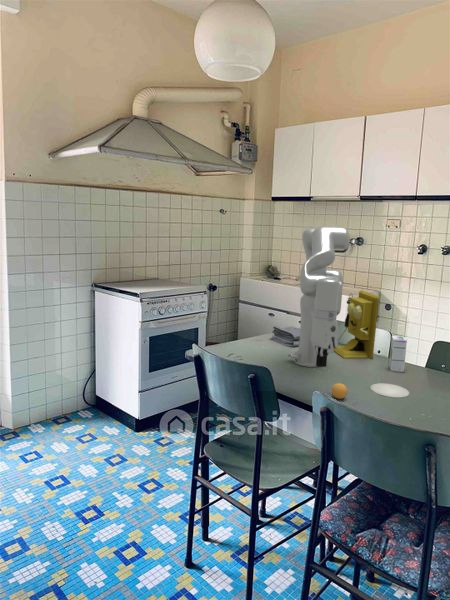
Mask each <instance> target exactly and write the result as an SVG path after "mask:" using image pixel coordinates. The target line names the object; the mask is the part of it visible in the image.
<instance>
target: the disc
mask: <svg viewBox="0 0 450 600" xmlns="http://www.w3.org/2000/svg"><path fill="white" fill-rule="evenodd" d="M370 391H372V392H373V393H375V394H378V395H379V396H380V395H381V396H384V397H387V398H388V397H389V398H393V399H394V398H395V399H396V398H397V399H398V398H406V397H408V396H409V395H410V391H409V390H407V389H406V388H405V387H403V386H400V385H397V384H392V383H383V382H382V383H381V382H380V383H374V384H372V385H370Z"/></svg>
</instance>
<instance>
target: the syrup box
mask: <svg viewBox="0 0 450 600" xmlns="http://www.w3.org/2000/svg"><path fill="white" fill-rule="evenodd" d="M390 339H391V340H390V348H389V349H390V351H389V361H388V369H389V370H390V371H392V372H396V373H397V372H400V373H404V372H405V363H406V353H407V343H408V339H406V337H405V336H402V335H391V338H390Z"/></svg>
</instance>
